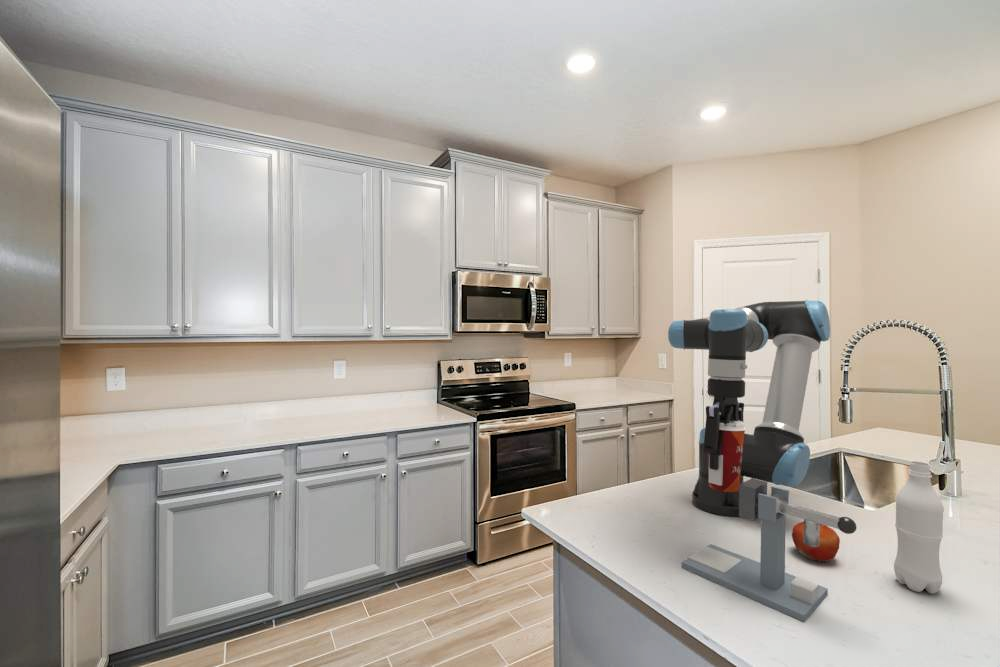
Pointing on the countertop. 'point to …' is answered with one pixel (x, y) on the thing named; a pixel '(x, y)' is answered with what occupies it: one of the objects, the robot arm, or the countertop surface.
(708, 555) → the frame
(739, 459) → the coffee cup
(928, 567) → the water bottle
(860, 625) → the countertop surface
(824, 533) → the tomato
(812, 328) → the robot arm
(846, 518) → the lever
